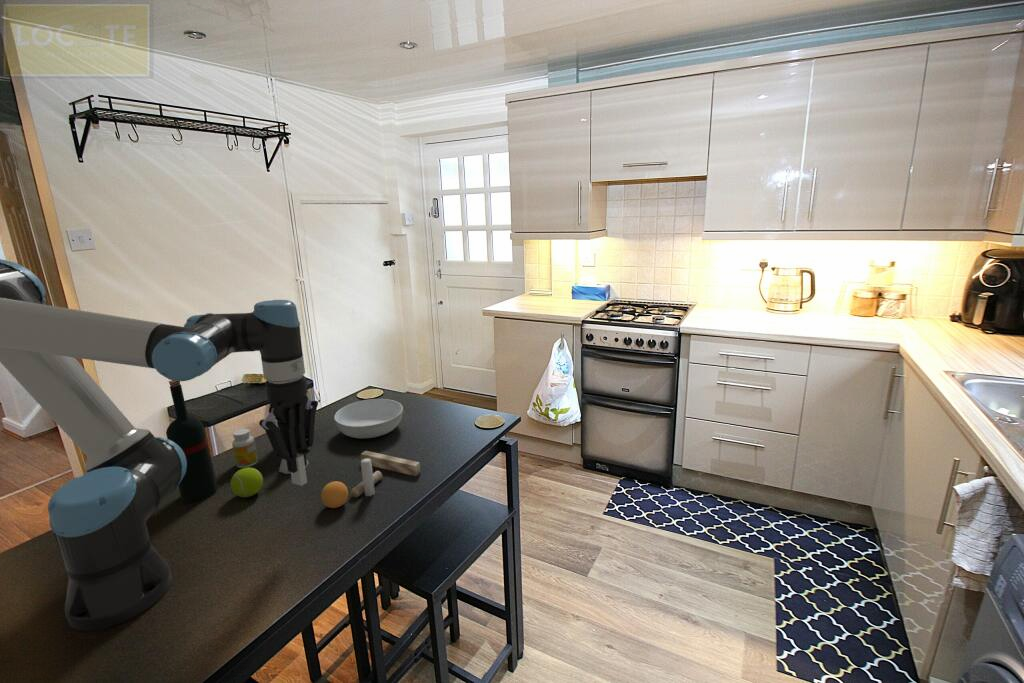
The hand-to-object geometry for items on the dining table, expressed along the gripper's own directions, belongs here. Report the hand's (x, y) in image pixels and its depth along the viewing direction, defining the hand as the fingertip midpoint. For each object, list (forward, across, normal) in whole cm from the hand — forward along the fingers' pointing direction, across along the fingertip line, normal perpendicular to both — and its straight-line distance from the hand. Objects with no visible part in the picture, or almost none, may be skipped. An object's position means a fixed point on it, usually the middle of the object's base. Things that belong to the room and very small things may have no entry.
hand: (299, 482), depth 103 cm
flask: (+12, +19, +24) cm, 33 cm away
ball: (+9, +10, 0) cm, 13 cm away
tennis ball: (+12, +5, +24) cm, 28 cm away
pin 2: (+10, +14, -1) cm, 17 cm away
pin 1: (+11, +16, -4) cm, 20 cm away
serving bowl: (+12, +45, +20) cm, 51 cm away
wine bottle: (+13, 0, +37) cm, 39 cm away
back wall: (+11, +28, -1) cm, 31 cm away
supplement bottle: (+13, +16, +39) cm, 44 cm away
